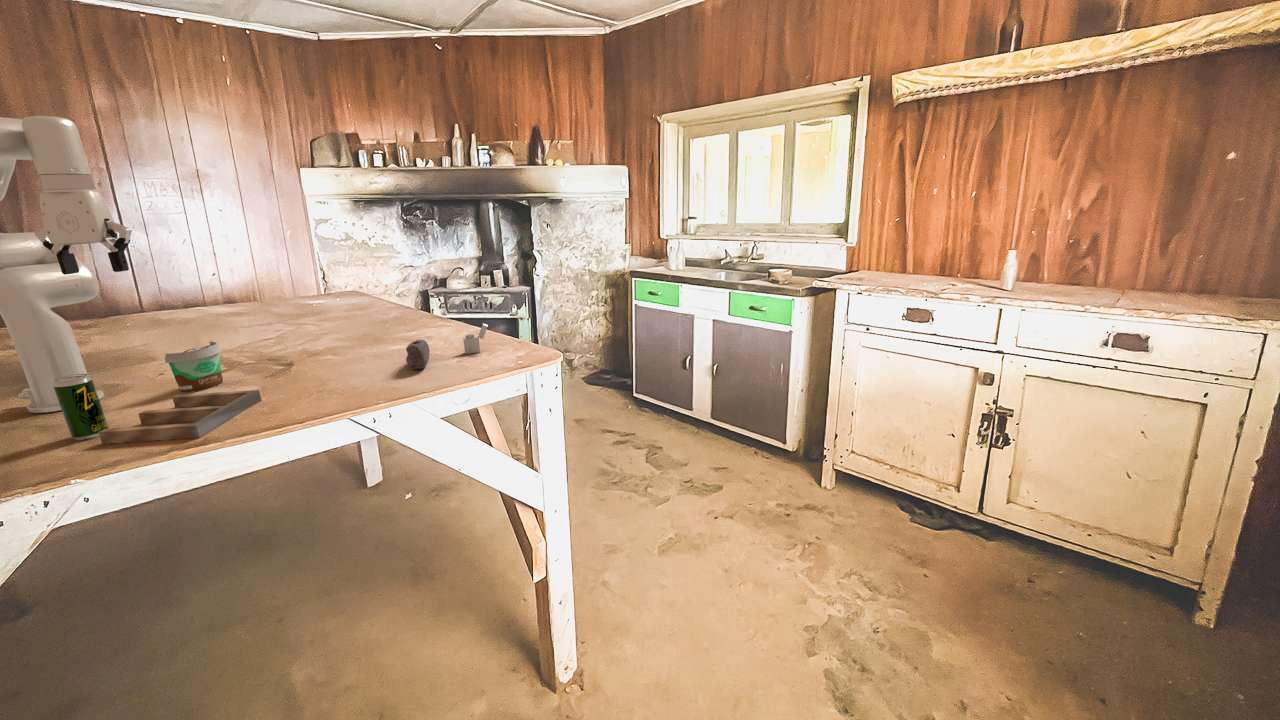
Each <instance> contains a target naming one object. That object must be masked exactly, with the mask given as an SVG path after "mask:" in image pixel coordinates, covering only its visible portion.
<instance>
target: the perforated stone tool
mask: <svg viewBox="0 0 1280 720" xmlns="http://www.w3.org/2000/svg"><path fill="white" fill-rule="evenodd" d="M405 351H406V352H407V356H406V359H405V361H406V363H407V365H408V367H409V368H410V369H412V370H422V369H424V368H425V367H427V364H428V363H429V360H430V346H429V344H428V342H427V341H426V340H424V339H421V338H420V339H416V340H414V341H412V342H410V343H408V345H407V346H406V348H405Z"/></svg>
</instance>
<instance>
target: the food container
mask: <svg viewBox="0 0 1280 720" xmlns="http://www.w3.org/2000/svg"><path fill="white" fill-rule="evenodd" d="M221 352H222V349H221V347H220V346H219V344H218V343H217V342H216V341H209V344H208V345H205V346H203V347H202V346H201V347H197V348H189V349H187V350H185V351H183V352H173V353H165V354H164V355H165V356H164V362H165V364H167V363H168V364H169V367H170V369H171V372H172V374H173V377H174V379H175V381H176V383H177V386H178V388H179V391H180V393H181V392H186V393H192V392H191V391H195V392H199V391H198V390H201V391H204V390H203V389H206V390H208V389H207V388H210V389H212V388H211V387H213V388H215V387H214V386H216V387H218V386H217V385H219V384H221V383H222V382H223V383H224V379H223V371H222V367H221V360H220V353H221ZM223 383H222V384H223ZM222 384H221V385H222ZM219 386H220V385H219Z"/></svg>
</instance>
